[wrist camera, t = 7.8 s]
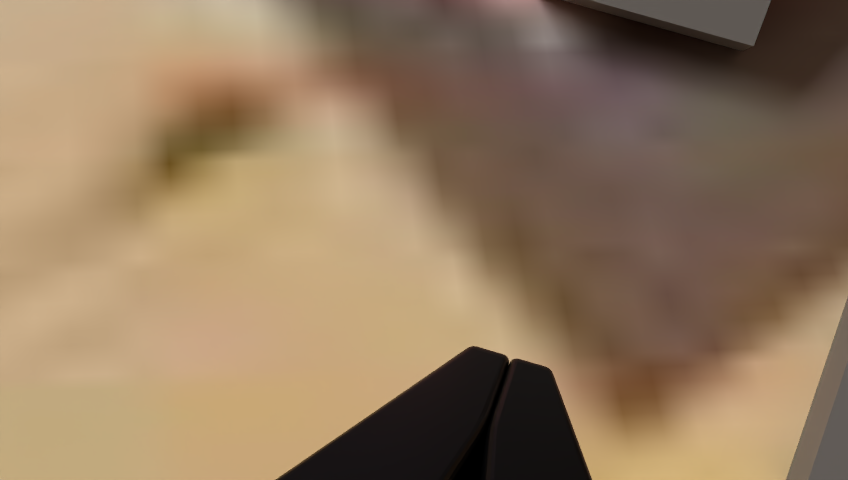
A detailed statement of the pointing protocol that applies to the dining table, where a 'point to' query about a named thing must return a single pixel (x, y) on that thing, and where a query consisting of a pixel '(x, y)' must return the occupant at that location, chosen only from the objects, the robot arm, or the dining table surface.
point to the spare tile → (827, 418)
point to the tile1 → (694, 17)
